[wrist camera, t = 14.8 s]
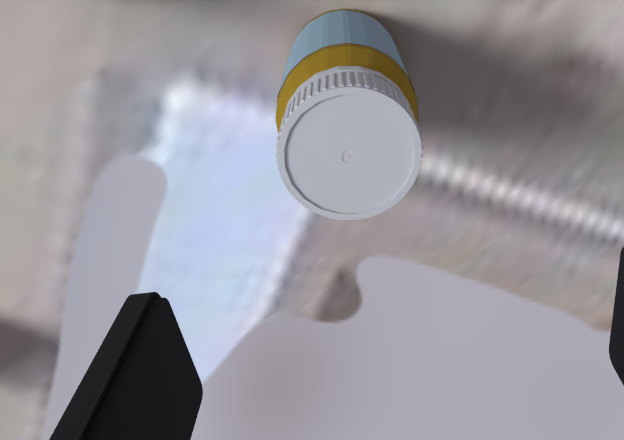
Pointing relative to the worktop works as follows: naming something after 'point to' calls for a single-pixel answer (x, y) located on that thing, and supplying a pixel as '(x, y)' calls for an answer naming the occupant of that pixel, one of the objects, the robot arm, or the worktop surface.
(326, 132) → the bottle
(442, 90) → the worktop surface
